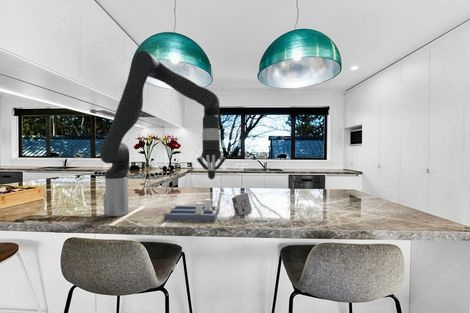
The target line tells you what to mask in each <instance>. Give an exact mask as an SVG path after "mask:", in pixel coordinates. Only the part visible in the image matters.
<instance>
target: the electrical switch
mask: <svg viewBox="0 0 470 313" xmlns="http://www.w3.org/2000/svg"><path fill="white" fill-rule="evenodd" d="M250 201H251V200H250V197H249V192H243V193H239V194H236V195H235V196H234V197H232V198H231V202H232V205H233V210H234V214H235V215H239V216H243V215H246V214H248V213H250V212H252V211H253V210H252V209H253V208H252V206H251V202H250Z"/></svg>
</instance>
